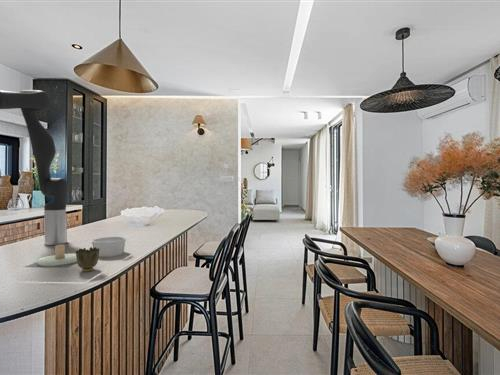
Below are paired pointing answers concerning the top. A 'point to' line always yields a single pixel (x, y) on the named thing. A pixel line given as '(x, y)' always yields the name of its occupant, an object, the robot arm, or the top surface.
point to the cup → (87, 258)
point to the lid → (57, 258)
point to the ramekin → (109, 246)
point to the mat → (54, 266)
